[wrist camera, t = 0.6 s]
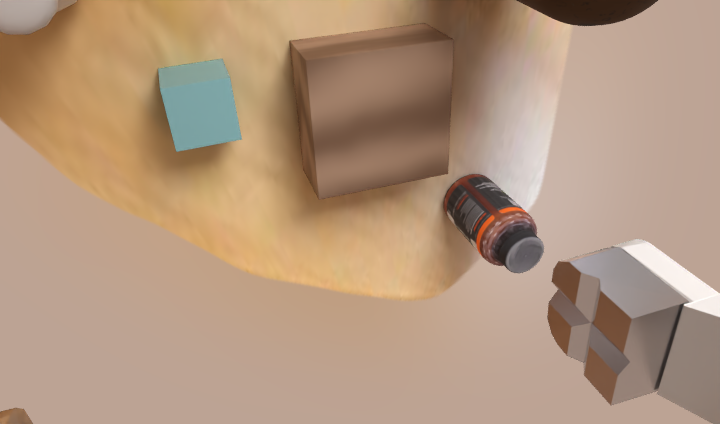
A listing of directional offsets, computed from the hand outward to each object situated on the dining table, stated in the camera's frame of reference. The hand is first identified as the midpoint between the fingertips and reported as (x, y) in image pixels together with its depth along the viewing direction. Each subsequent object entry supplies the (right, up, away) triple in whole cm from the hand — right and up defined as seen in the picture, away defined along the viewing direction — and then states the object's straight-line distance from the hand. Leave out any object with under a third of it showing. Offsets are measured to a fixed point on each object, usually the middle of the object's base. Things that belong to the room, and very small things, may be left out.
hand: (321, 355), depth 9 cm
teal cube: (-13, +12, +38) cm, 42 cm away
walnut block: (+1, +12, +43) cm, 45 cm away
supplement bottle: (+12, +4, +53) cm, 54 cm away
